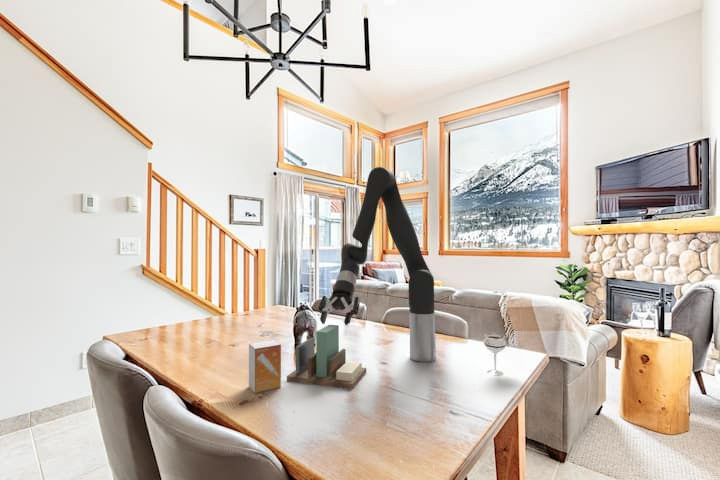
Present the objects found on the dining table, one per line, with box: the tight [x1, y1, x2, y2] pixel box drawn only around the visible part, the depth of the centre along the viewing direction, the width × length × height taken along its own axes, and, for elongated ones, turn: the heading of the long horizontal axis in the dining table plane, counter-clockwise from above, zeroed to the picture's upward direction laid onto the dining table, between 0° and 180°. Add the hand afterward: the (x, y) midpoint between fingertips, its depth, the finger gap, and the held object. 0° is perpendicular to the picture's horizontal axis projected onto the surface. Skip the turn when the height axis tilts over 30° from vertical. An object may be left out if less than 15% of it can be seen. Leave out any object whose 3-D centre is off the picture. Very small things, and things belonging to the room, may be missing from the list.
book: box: [315, 324, 340, 378], centre depth 112 cm, size 4×10×14 cm, turn 161°
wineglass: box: [483, 333, 507, 376], centre depth 113 cm, size 7×7×12 cm
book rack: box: [286, 348, 367, 390], centre depth 111 cm, size 22×14×8 cm, turn 72°
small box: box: [248, 339, 282, 394], centre depth 104 cm, size 8×6×13 cm
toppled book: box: [336, 360, 363, 381], centre depth 109 cm, size 5×10×2 cm, turn 162°
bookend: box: [295, 337, 315, 376], centre depth 114 cm, size 1×11×9 cm, turn 162°
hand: (334, 323), depth 116 cm, fingers open, 8 cm apart
